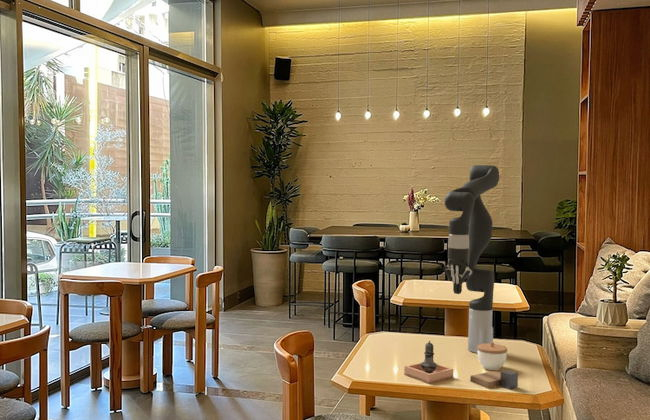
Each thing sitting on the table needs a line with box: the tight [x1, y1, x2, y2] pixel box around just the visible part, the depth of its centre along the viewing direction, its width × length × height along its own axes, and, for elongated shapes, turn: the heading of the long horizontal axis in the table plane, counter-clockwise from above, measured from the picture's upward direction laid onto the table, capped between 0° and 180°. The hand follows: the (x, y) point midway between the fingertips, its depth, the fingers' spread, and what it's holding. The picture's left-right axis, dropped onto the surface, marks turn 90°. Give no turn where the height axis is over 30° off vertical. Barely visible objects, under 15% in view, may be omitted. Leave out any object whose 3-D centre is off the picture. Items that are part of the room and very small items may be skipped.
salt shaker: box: [420, 340, 438, 373], centre depth 224 cm, size 6×6×12 cm
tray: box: [403, 361, 454, 384], centre depth 224 cm, size 12×12×3 cm
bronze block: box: [469, 370, 501, 389], centre depth 218 cm, size 12×8×2 cm, turn 121°
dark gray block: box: [499, 369, 519, 390], centre depth 213 cm, size 4×4×5 cm
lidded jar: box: [477, 341, 508, 371], centre depth 235 cm, size 11×11×9 cm
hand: (457, 293), depth 233 cm, fingers closed
